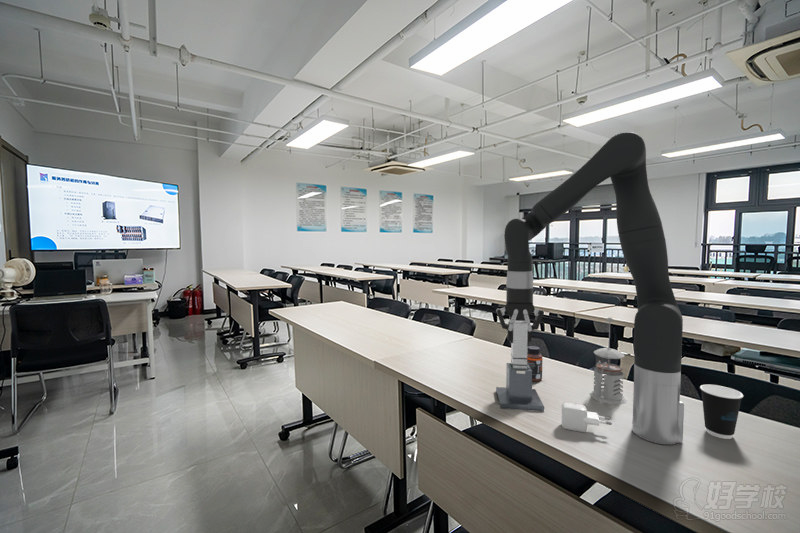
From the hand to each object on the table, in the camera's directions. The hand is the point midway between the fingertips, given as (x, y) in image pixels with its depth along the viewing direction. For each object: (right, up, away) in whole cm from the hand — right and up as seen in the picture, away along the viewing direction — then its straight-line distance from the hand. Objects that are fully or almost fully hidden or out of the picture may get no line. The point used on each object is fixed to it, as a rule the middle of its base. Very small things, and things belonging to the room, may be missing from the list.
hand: (519, 342), depth 106 cm
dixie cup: (+43, -19, -18) cm, 51 cm away
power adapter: (+11, -19, -16) cm, 27 cm away
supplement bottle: (+11, -17, +18) cm, 27 cm away
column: (0, -12, +1) cm, 12 cm away
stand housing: (0, -18, +1) cm, 18 cm away
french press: (+28, -18, +2) cm, 33 cm away
